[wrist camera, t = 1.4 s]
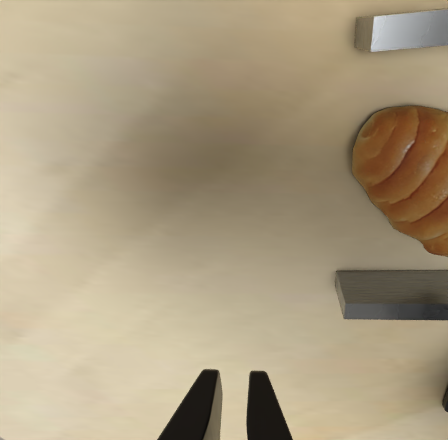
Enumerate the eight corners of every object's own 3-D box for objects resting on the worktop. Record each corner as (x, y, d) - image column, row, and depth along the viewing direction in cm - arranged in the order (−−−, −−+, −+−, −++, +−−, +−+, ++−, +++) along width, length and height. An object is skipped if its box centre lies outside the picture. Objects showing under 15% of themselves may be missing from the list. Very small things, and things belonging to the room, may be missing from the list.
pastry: (318, 176, 20) (328, 207, 17) (403, 62, 17) (436, 72, 13) (446, 250, 21) (480, 292, 18) (547, 159, 18) (610, 189, 15)
